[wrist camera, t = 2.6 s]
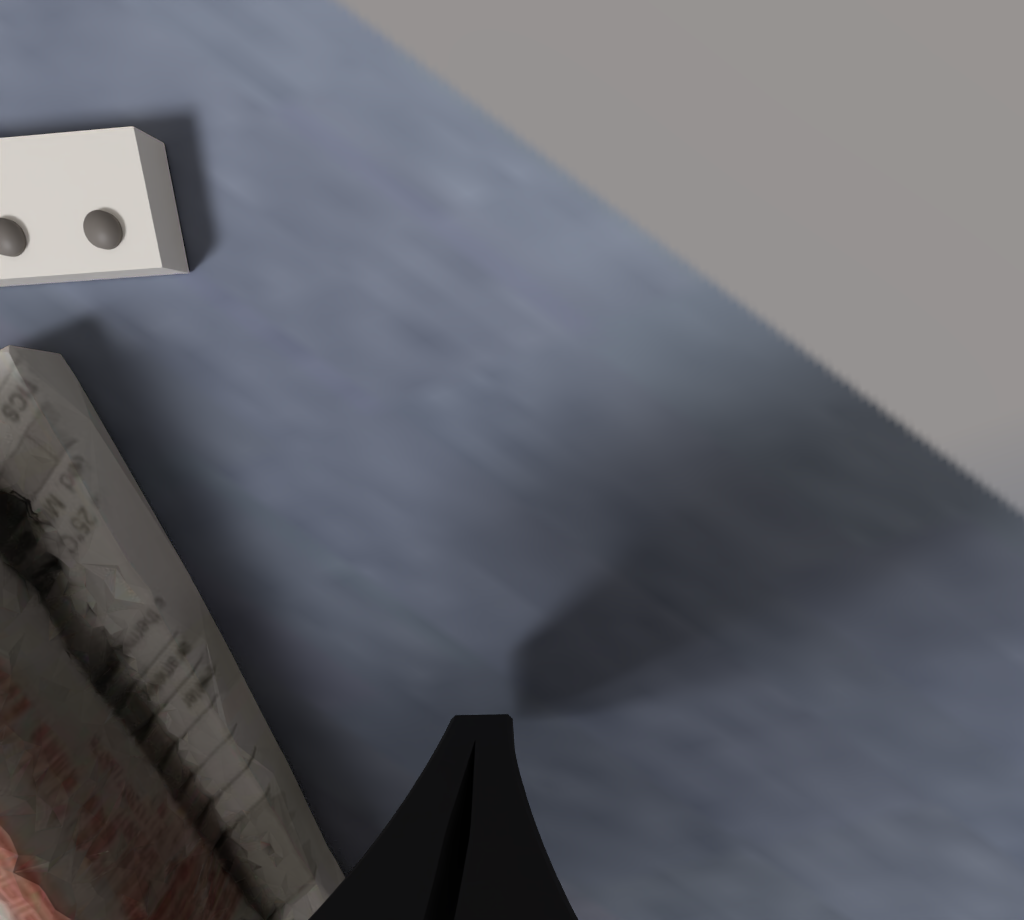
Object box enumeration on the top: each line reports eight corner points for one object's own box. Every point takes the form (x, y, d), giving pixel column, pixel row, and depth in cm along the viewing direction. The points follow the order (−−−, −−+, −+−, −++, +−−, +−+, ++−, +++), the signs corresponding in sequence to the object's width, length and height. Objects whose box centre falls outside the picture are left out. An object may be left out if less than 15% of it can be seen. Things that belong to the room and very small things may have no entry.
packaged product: (317, 1165, 10) (-62, 1230, 12) (385, 909, 15) (110, 974, 16) (-237, 335, 7) (-707, 555, 8) (78, 338, 12) (-247, 476, 13)
